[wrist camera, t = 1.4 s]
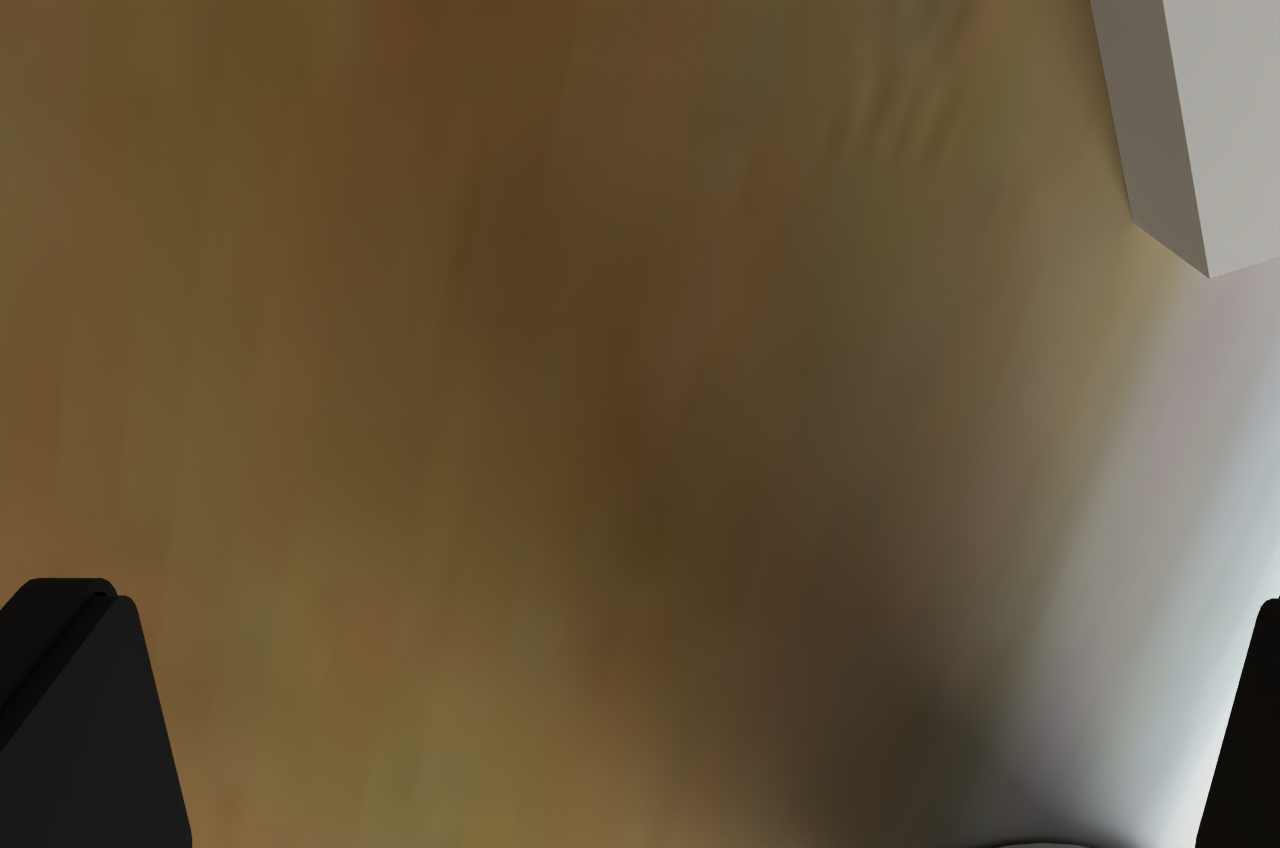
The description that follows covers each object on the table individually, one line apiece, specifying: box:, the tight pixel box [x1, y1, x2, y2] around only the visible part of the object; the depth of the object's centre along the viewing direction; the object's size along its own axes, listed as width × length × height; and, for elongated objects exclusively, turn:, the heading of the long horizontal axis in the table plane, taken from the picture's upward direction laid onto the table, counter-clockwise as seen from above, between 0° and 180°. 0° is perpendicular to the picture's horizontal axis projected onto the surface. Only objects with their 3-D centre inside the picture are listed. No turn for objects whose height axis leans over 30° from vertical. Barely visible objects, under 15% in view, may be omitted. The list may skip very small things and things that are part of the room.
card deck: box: [1090, 0, 1280, 279], centre depth 26 cm, size 10×6×5 cm, turn 21°
